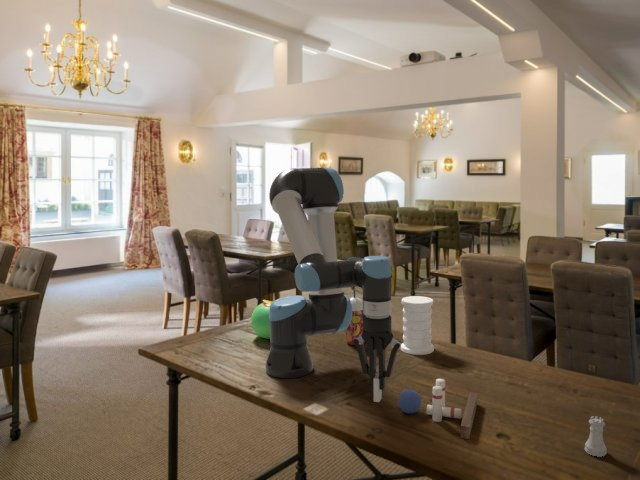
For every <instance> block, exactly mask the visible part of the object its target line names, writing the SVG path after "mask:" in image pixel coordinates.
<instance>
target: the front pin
mask: <svg viewBox="0 0 640 480" xmlns="http://www.w3.org/2000/svg"><path fill="white" fill-rule="evenodd" d="M426 414H427V415H431V416H432V405H431V404H427V406H426ZM442 417H445V418H451V419H461V420H462V408H458V407H450V406H449V407H448V406H445V407H442Z"/></svg>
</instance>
